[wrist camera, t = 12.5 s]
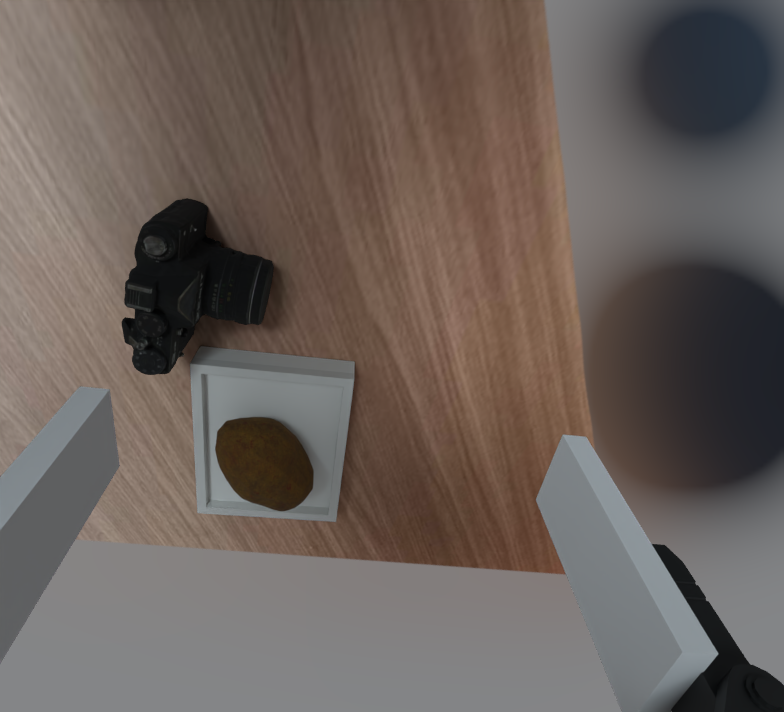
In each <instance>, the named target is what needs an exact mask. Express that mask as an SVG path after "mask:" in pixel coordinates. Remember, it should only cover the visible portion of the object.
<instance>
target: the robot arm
mask: <svg viewBox="0 0 784 712" xmlns="http://www.w3.org/2000/svg"><path fill="white" fill-rule="evenodd" d="M119 466H120V465H119V458H118V450H117V442H116V434H115V427H114V419H113V411H112V404H111V396H110V389H100V388H90V387H79V388H78V389H77V390H76V391H75V393H74V394H73V395H72V396H71V397H70V398H69V399H68V400H67V402H66V403H65V404H64V405H63V406H62V407H61V408H60V410H59V411H58V412H57V413H56V414H55V415H54V416H53V418H52V419H51V420H50V421H49V422H48V423H47V424H46V426H45V427H44V428H43V429H42V430H41V431H40V432H39V434H38V435H37V436H36V437H35V438H34V439H33V440H32V442H31V443H30V444H29V445H28V446H27V447H26V448H25V450H24V451H23V452H22V453H21V454H20V455H19V456H18V457H17V459H16V460H15V461H14V462H13V463H12V464H11V465H10V467H9V468H8V469H7V470H6V471H5V472H4V473H3V475H2V476H1V477H0V663H1V662H2V660H3V658H4V657H5V655H6V653H7V652H8V650H9V648H10V647H11V645H12V643H13V641H14V640H15V638H16V637H17V635H18V633H19V631H20V630H21V628H22V627H23V625H24V623H25V622H26V620H27V618H28V617H29V615H30V614H31V612H32V610H33V609H34V607H35V605H36V604H37V602H38V600H39V599H40V597H41V595H42V593H43V591H44V590H45V588H46V587H47V585H48V584H49V582H50V580H51V579H52V577H53V575H54V574H55V572H56V570H57V569H58V567H59V565H60V564H61V562H62V560H63V559H64V557H65V555H66V554H67V552H68V550H69V549H70V547H71V546H72V544H73V542H74V541H75V539H76V537H77V536H78V534H79V532H80V531H81V529H82V527H83V526H84V524H85V522H86V521H87V519H88V517H89V516H90V514H91V512H92V511H93V509H94V507H95V506H96V504H97V502H98V501H99V499H100V497H101V496H102V494H103V492H104V491H105V489H106V487H107V486H108V484H109V482H110V481H111V479H112V478H113V476H114V474H115V473H116V471H117V469H118V468H119ZM536 502H537V504H538V507H539V509H540V511H541V514H542V516H543V519H544V521H545V524H546V526H547V529H548V531H549V534H550V536H551V539H552V541H553V544H554V546H555V548H556V551H557V553H558V556H559V558H560V561H561V563H562V566H563V568H564V571H565V573H566V576H567V578H568V581H569V583H570V585H571V588H572V590H573V593H574V595H575V598H576V600H577V602H578V605H579V608H580V610H581V612H582V615H583V617H584V620H585V622H586V625H587V627H588V630H589V632H590V635H591V637H592V640H593V642H594V645H595V647H596V650H597V652H598V654H599V657H600V659H601V662H602V664H603V667H604V669H605V672H606V674H607V677H608V679H609V682H610V684H611V687H612V689H613V691H614V694H615V696H616V699H617V701H618V704H619V706H620V708H621V711H622V712H671V711H672V712H784V685H783V684H782V683H781V682H780V681H778V680H777V679H776V678H774V677H773V676H772V675H771V674H769V673H768V672H766V671H764V670H762V669H760V668H758V667H756V666H754V665H750V664H749V662H748V661H747V660H746V658H745V657H744V655H743V654H742V652H741V651H740V649H739V647H738V646H737V644H736V643H735V641H734V640H733V638H732V637H731V635H730V634H729V632H728V631H727V629H726V628H725V626H724V624H723V623H722V621H721V620H720V618H719V617H718V615H717V614H716V612H715V611H714V609H713V608H712V606H711V604H710V603H709V602H708V601H706V597H705V595H704V594H703V592H702V591H701V589H700V588H699V586H698V585H696V584H695V580H694V579H693V577H692V575H691V574H690V572H689V571H688V569H687V568H686V566H685V565H684V563H683V562H682V561H681V560H680V559H679V558H678V557H677V556H676V555H675V554H674V553H673V552H672V551H670V549H669V548H667V547H666V546H665V545H657V544H651V543H650V541H649V539H648V538H647V536H646V534H645V533H644V531H643V529H642V528H641V526H640V524H639V523H638V521H637V519H636V518H635V516H634V515H633V513H632V511H631V510H630V508H629V506H628V505H627V503H626V502H625V500H624V498H623V497H622V495H621V493H620V492H619V490H618V488H617V487H616V485H615V484H614V482H613V480H612V479H611V477H610V475H609V474H608V472H607V470H606V469H605V467H604V466H603V464H602V462H601V460H600V459H599V457H598V456H597V454H596V452H595V451H594V449H593V447H592V446H591V444H590V442H589V441H588V439H587V438H586V437H581V436H571V435H562V438H561V440H560V442H559V445H558V447H557V450H556V452H555V455H554V457H553V459H552V462H551V464H550V467H549V469H548V472H547V474H546V476H545V479H544V481H543V484H542V486H541V488H540V491H539V493H538V496H537V498H536Z"/></svg>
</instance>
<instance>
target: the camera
mask: <svg viewBox="0 0 784 712" xmlns="http://www.w3.org/2000/svg"><path fill="white" fill-rule="evenodd" d="M207 212H208V207H207V206H206V205H205V204H203V203H201V202H198V201H196V200H192V199H182V200H176V201H175V202H173V203H172V204H171V205H170V206H168V207H167V208H166V209H164V210H163V211H161V212H160V213H158V214H156V215H155V216H153V217H152V218H151V220H149V221H148V222H147V223H145V224H144V225H143V227H142V229H141V231H140V234H139V236H138V241H137V243H136V247H135V258H136V261H137V266H136V267H135V268H134V269H132V270H131V271H130V274H129V279H128V280H127V281H126V284H125V299H124V301H125V305H126V306H127V307H129V308H134V309H135V319H133V318H124V319H123V320H122V328H123V334H124V339H125V343H127V344H129V345H132V347H133V349H134V350H133V357H132V362H133V365H134V367H135V368H136V369H137V370H138V371H140V372H141V373H144V374H147V375H155V374H167V373H169V372H170V371H171V369H172V368H173V367H174V365H175V363H176V361H177V359H178V358H179V357H181V356H184V353H182V351H183V349H184V348H185V346H186V345H187V343H188V341H189V340H190V338H191V337H192V335H193V334H194V327H195V324H196V323H197V322H198V320H199V319H200V317H201V316H202V315H204V314H206V315H208V316H210V317H212V318H215V319H223V320H233V321H235V322H237V323H241V324H245V325H247V324H256V325H259V324H261V322H262V321H263V318H264V314H265V310H266V306H267V302H268V298H269V293H270V288H271V283H272V277H273V268H274V267H273V263H272V261H270V260H266V259H264V258H262V257H259V256H255V255H247V254H245V253H243V252H240V251H235V250H233V249H230V248H221V244H222V243H221V242H219V241H215V240H214V239H211V238H208V237H207V236H206V233H205V230H206V221H207Z"/></svg>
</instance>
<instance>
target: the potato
mask: <svg viewBox="0 0 784 712" xmlns="http://www.w3.org/2000/svg"><path fill="white" fill-rule="evenodd" d="M215 451H216V456H217V461H218V464H219V467H220V469H221V471H222V473H223V475H224V476H225V478H226V480H227V482H228V483H229V484H230V486H231V487H232V489H233V490H234V491H235V492H236V493H237V494H238V495H239V496H240V497H241V498H242V499H244V500H246V501H249V502H251V503H254V504H258V505H262V506H265V507H267V508H270V509H273V510H277V511H281V512H283V511H288V510H291V509H293V508H295V507H297V506H298V505H299V504H301V503H302V502H303V501H304V500H305V499H306V497H307V496H308V495H309V493H310V492H311V491H312V489H313V481H314V470H313V467H312V465H311V462H310V459H309V457H308V455H307V453H306V451H305V449H304V448H303V446H302V444H301V443H300V441H299V440H298V439H297V437H296V436H295V435H294V434H293V433H292V432H291V431H290V430H289V429H287V428H286V427H285V426H284V425H283V424H282V423H280V422H279V421H276V420H274V419H272V418H265V417H249V418H238V419H234V420H228V421H226V422H225V423H224V424H223V425H222V427H221V428H220V429H219V430H218V431H217V439H216V446H215Z"/></svg>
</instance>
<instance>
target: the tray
mask: <svg viewBox="0 0 784 712" xmlns="http://www.w3.org/2000/svg"><path fill="white" fill-rule="evenodd" d="M354 370H355V362H354V361H344V360H334V359H324V358H314V357H304V356H294V355H284V354H274V353H264V352H255V351H245V350H235V349H225V348H215V347H205V346H200V348H199V350H198V351H197V353H196V355H195V356H194V358H193V360H192V361H191V363H190V375H191V394H192V414H193V434H194V453H195V473H196V493H197V512H198V513H205V514H221V515H237V516H252V517H268V518H284V519H299V520H315V521H331V522H336V518H337V510H338V502H339V494H340V487H341V479H342V471H343V463H344V455H345V448H346V440H347V432H348V424H349V417H350V409H351V401H352V393H353V385H354ZM249 417H265V418H272V419H274V420H276V421H279V422H280V423H282V424H283V425H284V426H285V427H286V428H287V429H289V430H290V431H291V432H292V433H293V434H294V435H295V436H296V437H297V439H298V440H299V441H300V443H301V444H302V446H303V448H304V449H305V451H306V453H307V455H308V457H309V459H310V462H311V465H312V467H313V470H314V481H313V489H312V491H311V492H310V493H309V495H308V496H307V497H306V499H305V500H304V501H303V502H302V503H301V504H299V505H298V506H297V507H295V508H293V509H291V510H288V511H283V512H281V511H277V510H273V509H270V508H267V507H265V506H262V505H258V504H254V503H251V502H249V501H246V500H244V499H242V498H241V497H240V496H239V495H238V494H237V493H236V492H235V491H234V490H233V489H232V487H231V486H230V484H229V483H228V482H227V480H226V478H225V476H224V475H223V473H222V471H221V469H220V467H219V464H218V461H217V456H216V451H215V446H216V439H217V431H218V430H219V429H220V428H221V427H222V425H223V424H224V423H225V422H226V421H228V420H234V419H238V418H249Z"/></svg>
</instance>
